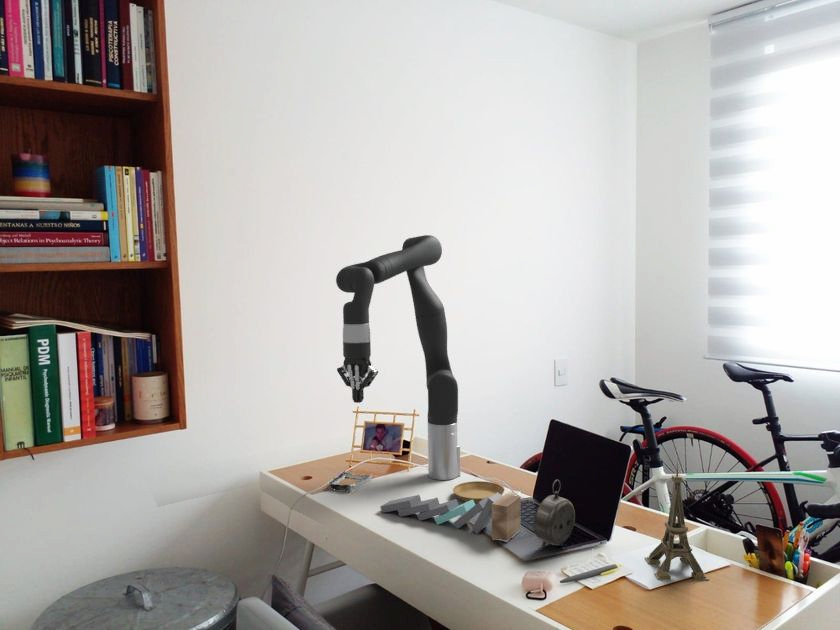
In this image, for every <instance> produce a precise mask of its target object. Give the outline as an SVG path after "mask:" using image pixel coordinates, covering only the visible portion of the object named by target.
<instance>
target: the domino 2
mask: <svg viewBox="0 0 840 630" xmlns="http://www.w3.org/2000/svg"><path fill="white" fill-rule="evenodd" d="M439 504H440V501H439V498H438V497H434V498H430V499H425V500H421V502H419V503H418V504H416V505H414V506H412V507H409V508H404V509H399V510H397V512H398V516H399V518H402V517H405V516H409V515H410V516H411V515H414V514H415V515H416V514H418V513H420V512H424V511H429V510H431V509H433V508H434V507H436V506H438V505H439Z"/></svg>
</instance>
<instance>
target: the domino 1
mask: <svg viewBox="0 0 840 630" xmlns="http://www.w3.org/2000/svg"><path fill="white" fill-rule="evenodd" d="M421 501H422V499H421V496H420V494H417V495H413V496H412V495H411V496H407V497H403V498H401V497H400V498H397V499H392V500H389V501H387V502H386V503H384V504H382V505H380V507H379V508H380V510H381V513H382V514H384V513H389V512H393V511H394V512H395V511H398V510H399V509H404V508H409V507H412V506H414V505H416V504H418V503H419V502H421Z"/></svg>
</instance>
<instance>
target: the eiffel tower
mask: <svg viewBox="0 0 840 630" xmlns="http://www.w3.org/2000/svg"><path fill="white" fill-rule="evenodd" d="M678 459H679V457H678V456H677V458H676V460H677V462H676V473H675V474H671V477H670V480H671V481H672V482H673V485H672V493H671V500H670V506H669V512H668V513H669V514H668V518H667V520H665V522H664V526H665V528H666V529H665V531H664V535H663V537H662V539H661V538H660V542H661V543H659V544H658V545H657V546H656V547H655V548H654V549H653V550H652V551H651V552H650V553H649V555H648V556H647V557H646V556H644V559H645V561H646V563H647V564H649V565H652V564H653V565H655V564H656V565H657V564H658V565H659V564H660V565H659V567H658V569H657V571H656V572H654V573H653V574H654V576H655V578H656V579H657V580H658V581H672V577H671V575H670V572H671V571H670V570H671V565H672V561H673V560H674V559H676V558H679V559H680V561H681V562H682V564H684V565H689V567H690V569H691V570H692V571H691V576H692V578H693V579H694V580H695V581H710V579H709V577H708V576H707V575H706V574H705V573H704V571H703V569H702V568H701V566H700V564H699V561H697V559H696V557H695V556H694V554H693V553H692V551H693V548H692V547H691V546H690V543H689V540H688V534H687V532H688V531H689V527H688V526H687V525H686V524H685V514H684V513H685V512H684V506H683V496H682V495H683V494H682V484H681V483H684V482H685V481H684V479H683V478H684V477H683V476H682V475H681V474H679V464H678ZM675 536H678V539H675ZM663 556H665V558H664V560H663V561H661V559H662V557H663ZM661 562H662V563H661Z"/></svg>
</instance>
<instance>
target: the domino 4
mask: <svg viewBox="0 0 840 630" xmlns="http://www.w3.org/2000/svg"><path fill="white" fill-rule="evenodd" d="M458 505H459V504H458ZM475 505H476V504H475V503H474V501H473V499H472V500H470V501H468V502H464V503H462V504H460V505H459V506H457V507H456V508H454V509H453V510H451V511H450V512H447V513H444V514H440V515H437V516H435V517H434V519H433V520H434V522H435V523H436V526H439V525H440V524H441V525H442V524H443V523H445V522H447V521H450V520H453V519H454V518H456V517H459V516H462V515H464V514H465V513H466V512H467V511H469V510H470V509H471V508H472V507H474V506H475Z"/></svg>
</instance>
